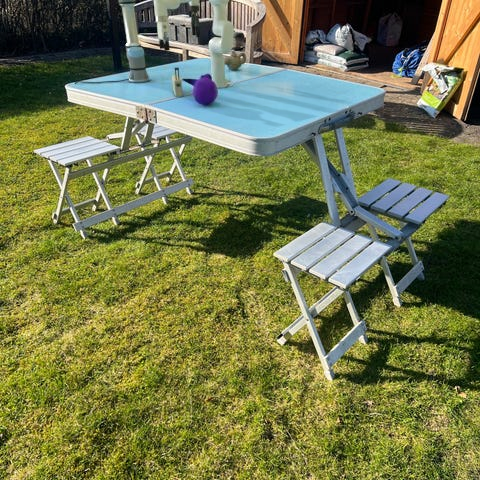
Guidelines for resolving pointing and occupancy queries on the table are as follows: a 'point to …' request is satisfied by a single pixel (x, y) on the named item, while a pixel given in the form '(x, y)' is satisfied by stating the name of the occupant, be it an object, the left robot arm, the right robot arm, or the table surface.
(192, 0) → the right robot arm
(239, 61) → the teapot
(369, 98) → the table surface
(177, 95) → the cream suitcase
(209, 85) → the toy
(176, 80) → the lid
